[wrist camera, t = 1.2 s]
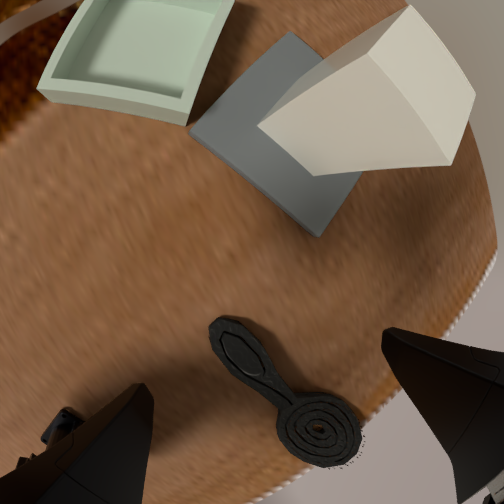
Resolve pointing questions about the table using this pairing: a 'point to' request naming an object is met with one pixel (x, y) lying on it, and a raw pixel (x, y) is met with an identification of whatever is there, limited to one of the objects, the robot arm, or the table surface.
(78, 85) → the tray
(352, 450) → the hairbrush
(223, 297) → the table surface
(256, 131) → the coaster
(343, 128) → the white block
